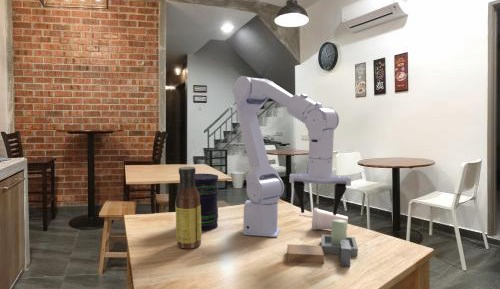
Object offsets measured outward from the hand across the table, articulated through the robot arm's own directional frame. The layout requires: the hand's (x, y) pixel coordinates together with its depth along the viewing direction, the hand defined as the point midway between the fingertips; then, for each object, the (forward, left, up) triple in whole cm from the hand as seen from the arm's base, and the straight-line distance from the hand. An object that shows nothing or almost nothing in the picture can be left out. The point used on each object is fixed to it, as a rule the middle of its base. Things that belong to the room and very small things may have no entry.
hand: (318, 212), depth 89 cm
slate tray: (+5, +2, -9) cm, 11 cm away
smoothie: (+8, +16, -7) cm, 19 cm away
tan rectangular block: (-3, -6, -10) cm, 12 cm away
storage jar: (-34, +11, -10) cm, 37 cm away
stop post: (+6, -6, -9) cm, 13 cm away
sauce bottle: (-32, -5, -10) cm, 34 cm away
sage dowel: (+5, +2, -9) cm, 11 cm away
